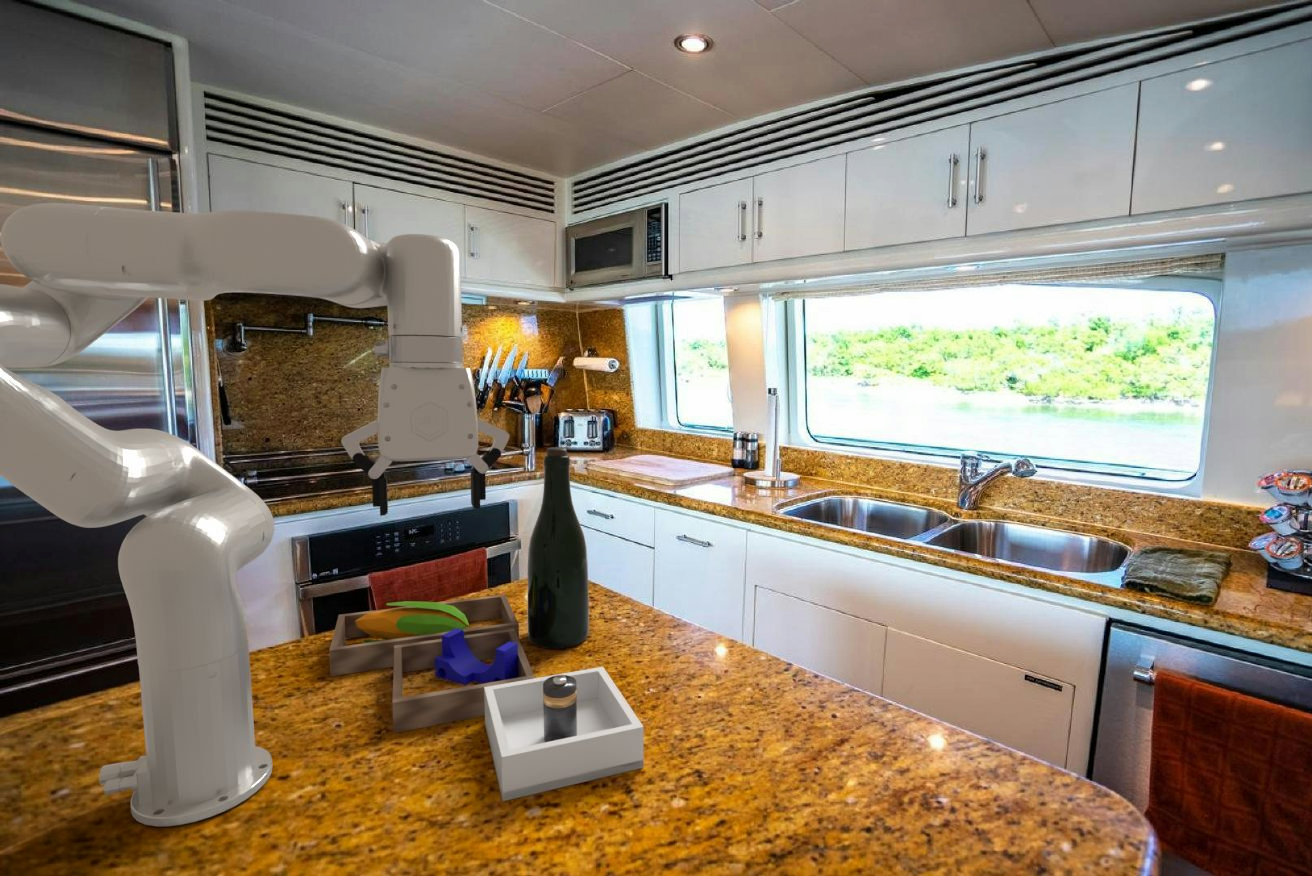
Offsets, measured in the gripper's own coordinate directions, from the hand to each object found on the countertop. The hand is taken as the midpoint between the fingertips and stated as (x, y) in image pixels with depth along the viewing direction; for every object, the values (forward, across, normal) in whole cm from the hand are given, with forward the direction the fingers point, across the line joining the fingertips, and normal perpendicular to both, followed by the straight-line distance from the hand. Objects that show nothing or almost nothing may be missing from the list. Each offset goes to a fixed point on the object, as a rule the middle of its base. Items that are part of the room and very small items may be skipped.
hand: (431, 509), depth 70 cm
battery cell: (+29, +14, -1) cm, 32 cm away
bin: (+30, +14, -1) cm, 33 cm away
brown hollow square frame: (+30, +4, +18) cm, 35 cm away
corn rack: (+30, 0, +36) cm, 47 cm away
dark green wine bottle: (+30, +21, +30) cm, 48 cm away
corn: (+31, -3, +36) cm, 47 cm away
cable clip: (+31, +6, +20) cm, 37 cm away
